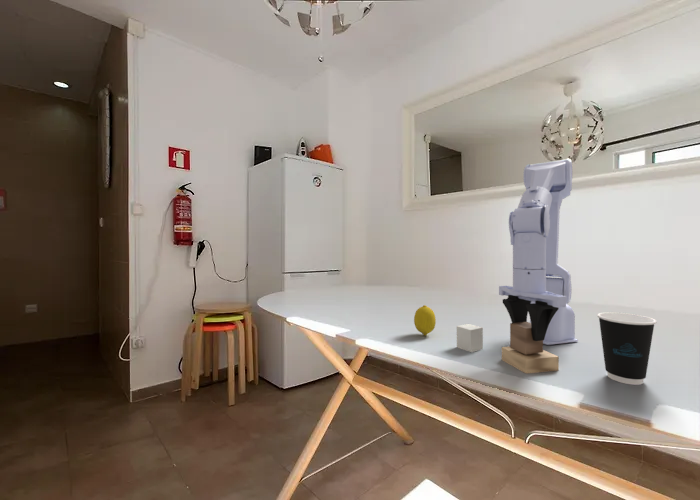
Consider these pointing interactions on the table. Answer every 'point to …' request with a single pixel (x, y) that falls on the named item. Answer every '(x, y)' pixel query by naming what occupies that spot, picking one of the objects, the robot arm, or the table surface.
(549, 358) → the oak slab
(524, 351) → the walnut block
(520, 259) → the robot arm
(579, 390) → the table surface
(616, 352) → the dixie cup
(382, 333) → the table surface
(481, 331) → the grey block
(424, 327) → the lemon
